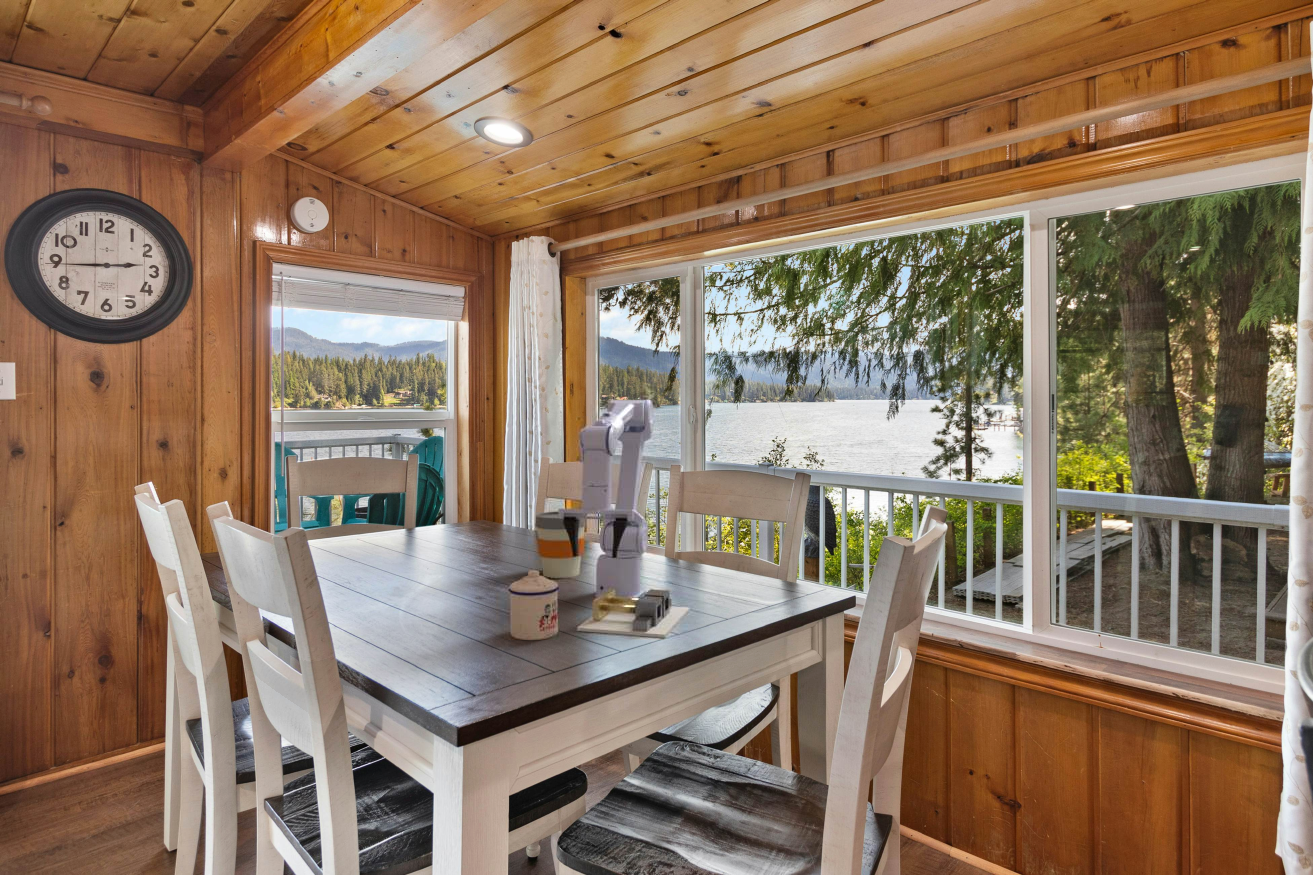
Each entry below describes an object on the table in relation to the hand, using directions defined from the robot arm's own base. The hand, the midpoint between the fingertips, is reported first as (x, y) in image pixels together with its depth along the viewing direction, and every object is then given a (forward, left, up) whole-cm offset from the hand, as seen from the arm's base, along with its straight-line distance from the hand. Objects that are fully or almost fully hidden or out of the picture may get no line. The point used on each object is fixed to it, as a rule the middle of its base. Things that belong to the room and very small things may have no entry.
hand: (595, 556), depth 146 cm
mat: (+7, +2, -13) cm, 15 cm away
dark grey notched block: (+11, +7, -12) cm, 18 cm away
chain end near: (+11, -2, -12) cm, 16 cm away
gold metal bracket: (+5, +2, -12) cm, 13 cm away
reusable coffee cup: (-23, +37, -13) cm, 45 cm away
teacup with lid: (-8, -9, -13) cm, 18 cm away
